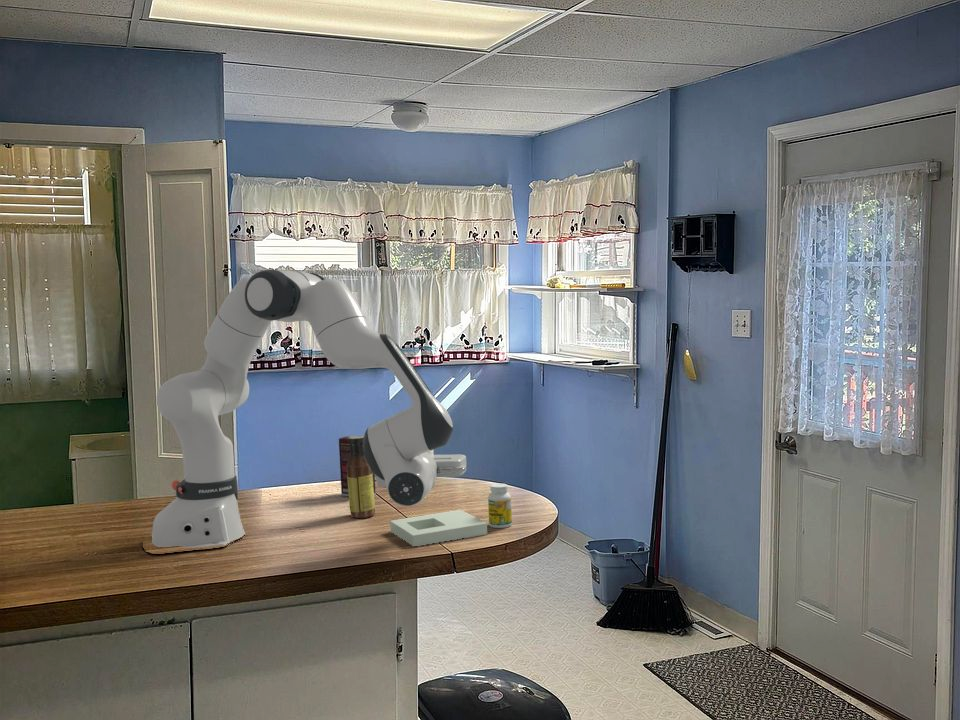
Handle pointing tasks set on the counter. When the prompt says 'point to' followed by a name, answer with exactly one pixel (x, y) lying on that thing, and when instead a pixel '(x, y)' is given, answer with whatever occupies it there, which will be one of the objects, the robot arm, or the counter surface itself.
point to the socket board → (438, 527)
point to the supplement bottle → (499, 506)
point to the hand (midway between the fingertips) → (424, 458)
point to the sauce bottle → (359, 481)
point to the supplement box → (344, 457)
